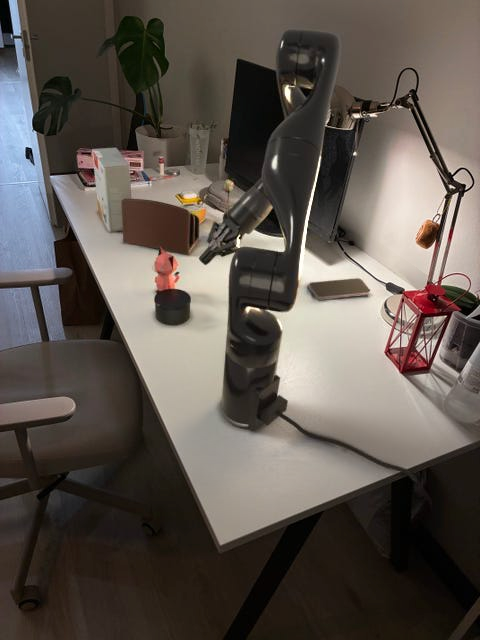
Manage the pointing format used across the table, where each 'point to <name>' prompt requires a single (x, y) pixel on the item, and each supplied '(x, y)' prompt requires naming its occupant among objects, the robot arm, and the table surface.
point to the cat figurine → (165, 270)
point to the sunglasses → (198, 212)
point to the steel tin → (172, 306)
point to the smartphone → (339, 288)
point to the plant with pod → (228, 188)
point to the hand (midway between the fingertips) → (202, 262)
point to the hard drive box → (111, 185)
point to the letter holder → (159, 225)
